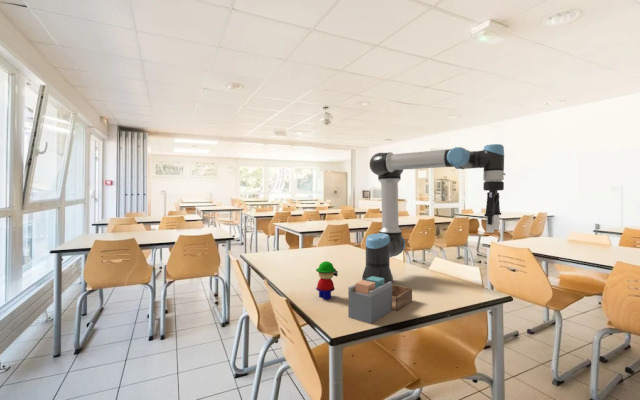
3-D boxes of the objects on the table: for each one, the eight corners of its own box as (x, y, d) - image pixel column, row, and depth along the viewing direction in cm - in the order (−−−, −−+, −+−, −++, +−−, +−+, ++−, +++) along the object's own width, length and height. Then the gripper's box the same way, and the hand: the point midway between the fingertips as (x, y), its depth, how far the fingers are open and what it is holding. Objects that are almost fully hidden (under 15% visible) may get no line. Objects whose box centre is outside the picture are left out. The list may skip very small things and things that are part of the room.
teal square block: (365, 286, 112) (365, 278, 112) (372, 283, 115) (372, 276, 115) (377, 289, 108) (377, 281, 108) (384, 286, 112) (384, 278, 112)
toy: (312, 295, 130) (312, 260, 130) (329, 292, 134) (329, 258, 133) (321, 301, 122) (321, 264, 122) (339, 298, 125) (340, 262, 125)
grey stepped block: (348, 317, 106) (348, 287, 106) (370, 304, 119) (370, 277, 119) (371, 323, 101) (371, 292, 101) (392, 309, 113) (392, 281, 113)
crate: (366, 303, 120) (366, 290, 120) (382, 294, 131) (382, 282, 131) (397, 311, 112) (397, 297, 112) (412, 300, 123) (412, 288, 123)
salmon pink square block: (355, 291, 106) (355, 283, 106) (362, 288, 110) (362, 280, 110) (368, 294, 103) (368, 285, 103) (375, 290, 107) (375, 282, 107)
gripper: (499, 179, 117) (498, 234, 117) (507, 182, 136) (507, 229, 137) (477, 180, 121) (477, 233, 122) (488, 182, 141) (488, 227, 141)
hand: (492, 231), depth 129 cm, fingers open, 13 cm apart
